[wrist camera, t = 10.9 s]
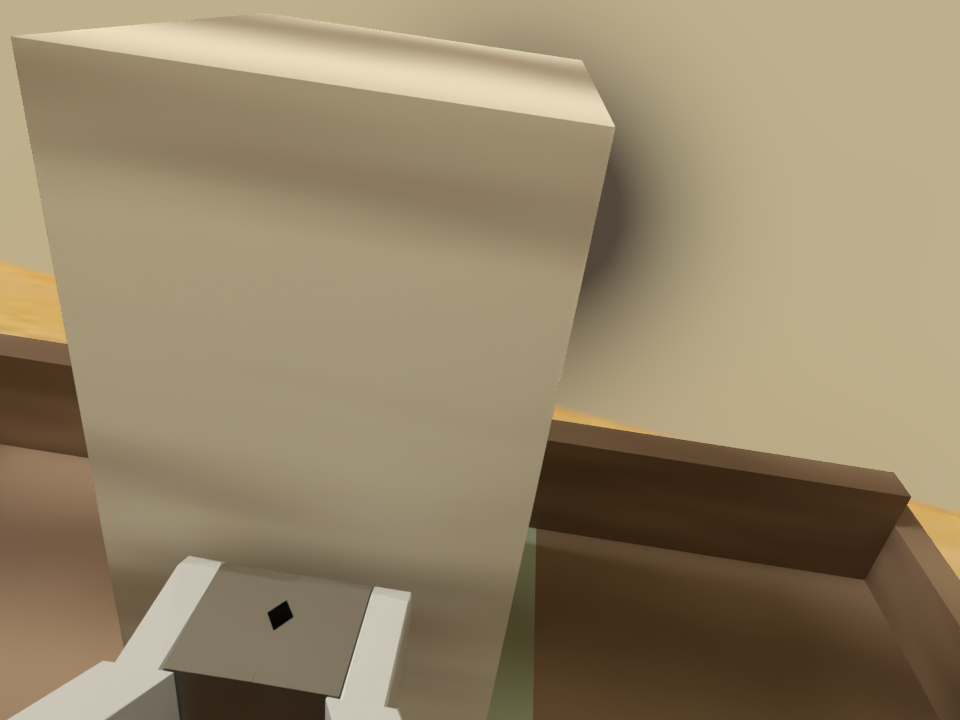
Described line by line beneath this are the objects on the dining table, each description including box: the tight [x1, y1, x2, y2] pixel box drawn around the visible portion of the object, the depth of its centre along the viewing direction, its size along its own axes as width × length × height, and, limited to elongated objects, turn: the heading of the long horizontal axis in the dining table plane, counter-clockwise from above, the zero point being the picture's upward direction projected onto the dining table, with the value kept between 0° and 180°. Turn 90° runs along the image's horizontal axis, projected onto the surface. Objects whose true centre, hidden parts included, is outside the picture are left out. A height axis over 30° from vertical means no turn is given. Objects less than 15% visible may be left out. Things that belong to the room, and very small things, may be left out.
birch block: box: [11, 13, 615, 720], centre depth 13 cm, size 7×6×12 cm
